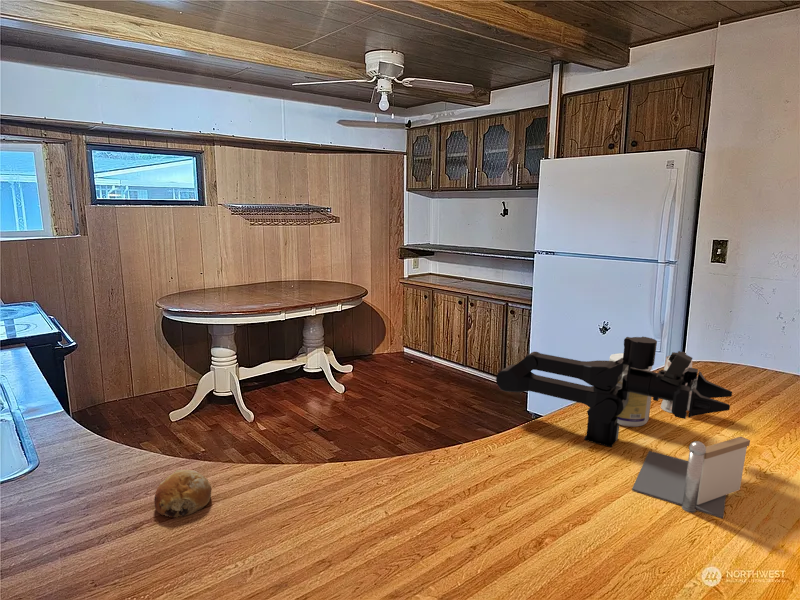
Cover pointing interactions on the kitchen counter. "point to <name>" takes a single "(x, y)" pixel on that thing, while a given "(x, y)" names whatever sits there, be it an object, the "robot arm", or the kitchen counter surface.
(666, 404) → the beer glass
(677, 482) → the mat
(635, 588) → the kitchen counter surface
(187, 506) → the bread roll
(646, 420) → the supplement tub
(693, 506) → the gate post
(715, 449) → the panel
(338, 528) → the kitchen counter surface
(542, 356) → the robot arm
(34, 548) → the kitchen counter surface
